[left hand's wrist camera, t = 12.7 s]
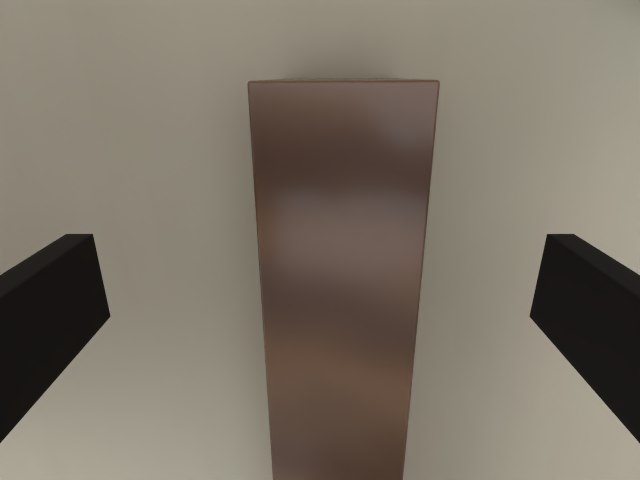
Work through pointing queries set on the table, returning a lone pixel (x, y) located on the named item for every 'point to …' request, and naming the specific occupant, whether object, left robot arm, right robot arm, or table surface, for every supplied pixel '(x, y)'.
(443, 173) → the table surface
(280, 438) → the post
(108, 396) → the table surface
